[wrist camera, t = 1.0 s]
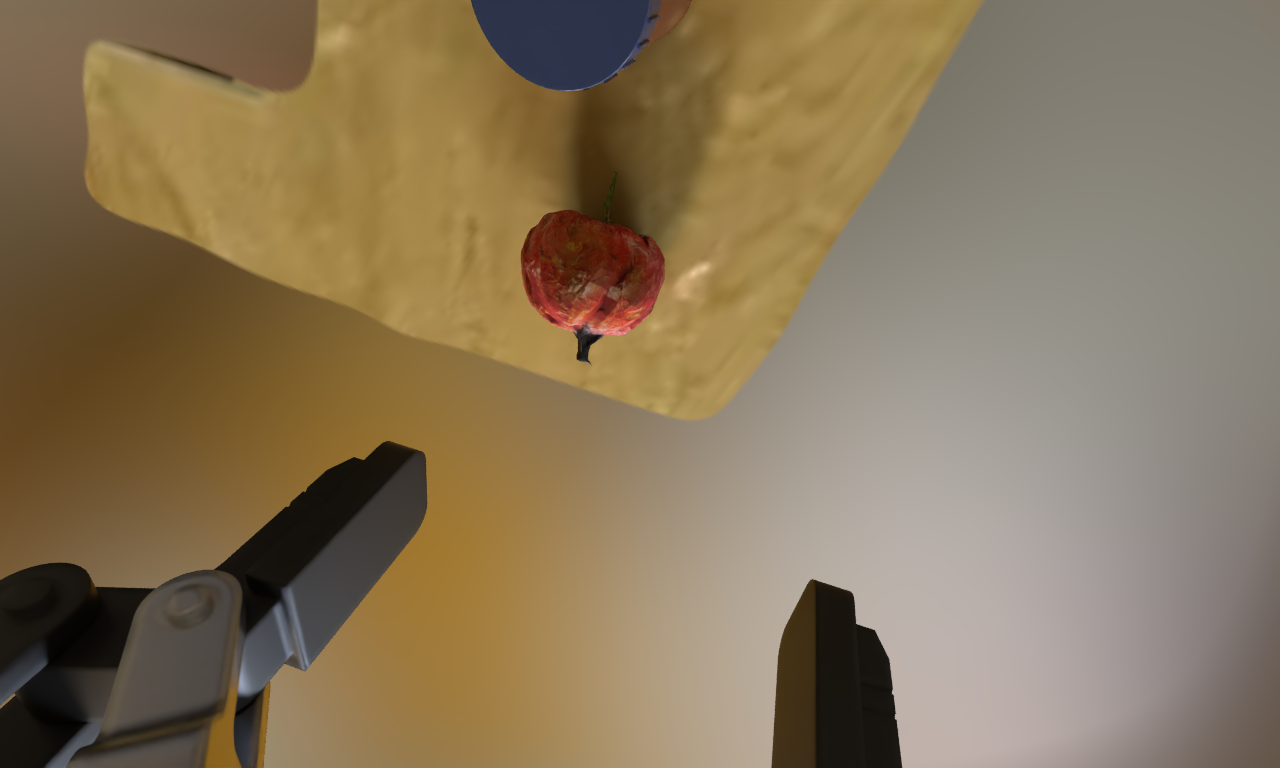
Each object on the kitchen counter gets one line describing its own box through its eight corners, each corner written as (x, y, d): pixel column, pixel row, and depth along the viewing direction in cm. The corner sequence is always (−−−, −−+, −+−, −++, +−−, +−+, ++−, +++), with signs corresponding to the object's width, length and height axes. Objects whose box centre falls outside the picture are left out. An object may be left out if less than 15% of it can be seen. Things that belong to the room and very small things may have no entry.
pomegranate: (557, 174, 34) (511, 341, 34) (541, 122, 26) (483, 336, 27) (680, 211, 34) (634, 376, 34) (699, 170, 27) (640, 379, 27)
